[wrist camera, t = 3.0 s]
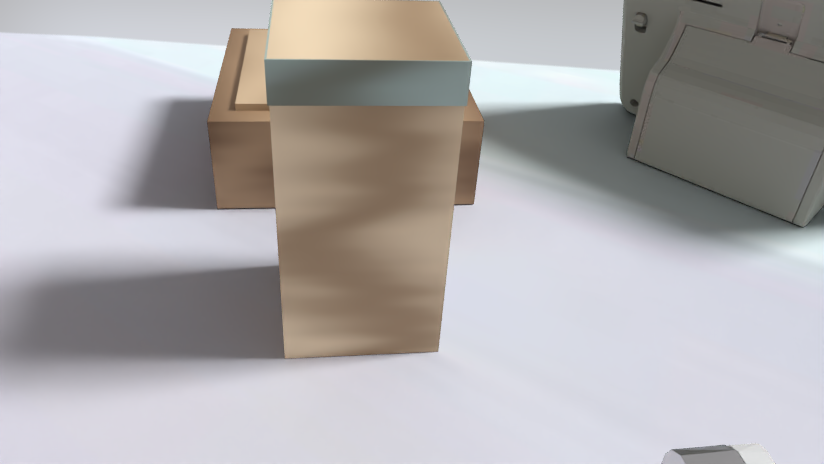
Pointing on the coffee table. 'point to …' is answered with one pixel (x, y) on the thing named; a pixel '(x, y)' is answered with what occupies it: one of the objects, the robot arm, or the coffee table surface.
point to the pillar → (364, 170)
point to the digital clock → (730, 97)
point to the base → (251, 132)
